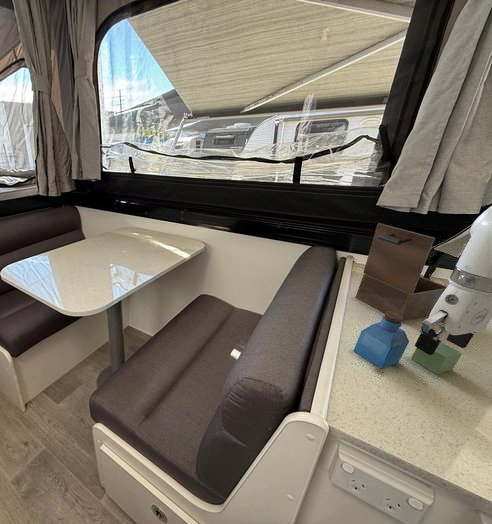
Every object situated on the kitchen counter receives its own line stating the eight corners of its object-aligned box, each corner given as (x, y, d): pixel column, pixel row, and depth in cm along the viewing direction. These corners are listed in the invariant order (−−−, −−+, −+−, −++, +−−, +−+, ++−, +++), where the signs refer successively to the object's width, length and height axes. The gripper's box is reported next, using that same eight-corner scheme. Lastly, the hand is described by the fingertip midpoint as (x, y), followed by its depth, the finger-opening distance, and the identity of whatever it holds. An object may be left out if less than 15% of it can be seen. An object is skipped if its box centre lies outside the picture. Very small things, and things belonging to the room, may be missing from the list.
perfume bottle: (353, 350, 67) (369, 310, 62) (370, 345, 68) (388, 305, 64) (380, 368, 61) (400, 326, 56) (398, 362, 63) (419, 320, 58)
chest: (391, 291, 92) (401, 268, 89) (439, 314, 80) (453, 288, 77) (354, 297, 89) (363, 274, 86) (399, 321, 77) (411, 295, 74)
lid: (379, 223, 79) (365, 226, 78) (435, 237, 66) (418, 241, 66) (365, 272, 86) (351, 275, 85) (413, 293, 73) (397, 297, 73)
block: (426, 354, 65) (435, 338, 63) (452, 370, 61) (462, 353, 59) (410, 358, 64) (419, 342, 62) (435, 374, 60) (445, 357, 58)
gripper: (472, 294, 48) (430, 366, 55) (536, 284, 52) (489, 352, 59) (424, 276, 55) (392, 342, 62) (483, 268, 59) (446, 331, 66)
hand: (439, 347), depth 60 cm, fingers open, 9 cm apart
